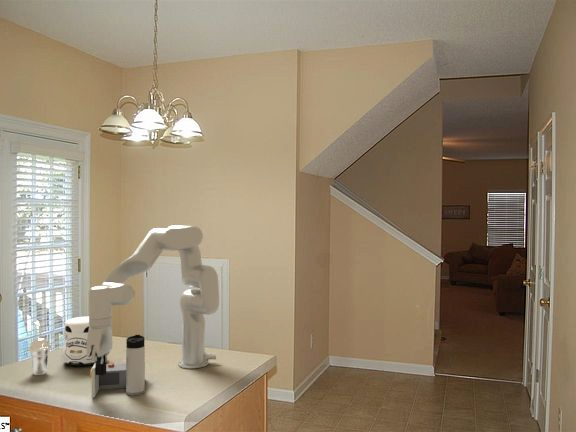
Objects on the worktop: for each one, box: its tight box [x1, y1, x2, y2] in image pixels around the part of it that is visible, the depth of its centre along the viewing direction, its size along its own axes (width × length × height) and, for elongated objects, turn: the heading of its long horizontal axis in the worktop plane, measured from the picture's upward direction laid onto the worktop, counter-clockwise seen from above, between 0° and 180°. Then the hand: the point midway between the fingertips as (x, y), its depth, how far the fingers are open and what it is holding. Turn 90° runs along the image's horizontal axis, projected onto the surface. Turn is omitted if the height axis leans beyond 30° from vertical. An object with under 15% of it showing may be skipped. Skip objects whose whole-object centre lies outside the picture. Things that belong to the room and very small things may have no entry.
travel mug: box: [125, 334, 146, 397], centre depth 179 cm, size 6×7×20 cm
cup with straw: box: [27, 320, 53, 376], centre depth 199 cm, size 8×9×20 cm
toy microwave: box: [99, 362, 126, 390], centre depth 187 cm, size 16×9×7 cm, turn 103°
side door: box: [89, 364, 100, 398], centre depth 177 cm, size 9×2×10 cm, turn 11°
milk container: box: [62, 315, 95, 367], centre depth 214 cm, size 17×17×18 cm
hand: (100, 374), depth 175 cm, fingers closed
